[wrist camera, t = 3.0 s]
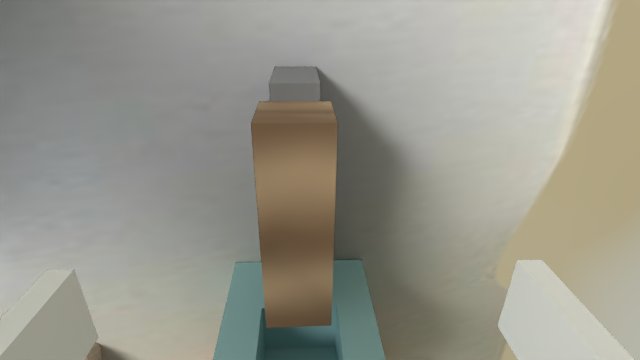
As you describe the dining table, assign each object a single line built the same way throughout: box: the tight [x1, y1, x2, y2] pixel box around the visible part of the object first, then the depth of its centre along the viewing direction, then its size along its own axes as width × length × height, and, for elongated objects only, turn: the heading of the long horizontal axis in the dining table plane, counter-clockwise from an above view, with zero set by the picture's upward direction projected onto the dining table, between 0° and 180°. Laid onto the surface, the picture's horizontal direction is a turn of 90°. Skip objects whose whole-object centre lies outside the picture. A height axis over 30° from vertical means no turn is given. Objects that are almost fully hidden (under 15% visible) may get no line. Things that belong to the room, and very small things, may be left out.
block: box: [213, 259, 386, 360], centre depth 28 cm, size 6×11×13 cm, turn 90°
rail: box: [269, 67, 320, 102], centre depth 26 cm, size 16×3×6 cm, turn 0°
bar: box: [251, 101, 338, 328], centre depth 22 cm, size 13×4×4 cm, turn 0°
